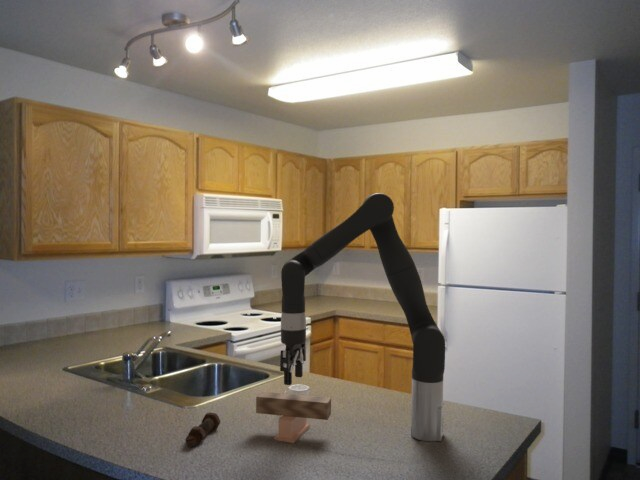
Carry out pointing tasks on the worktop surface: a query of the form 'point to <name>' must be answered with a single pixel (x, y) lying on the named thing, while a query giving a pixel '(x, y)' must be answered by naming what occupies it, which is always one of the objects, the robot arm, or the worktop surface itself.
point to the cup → (298, 389)
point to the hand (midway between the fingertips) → (293, 380)
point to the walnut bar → (293, 405)
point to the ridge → (291, 428)
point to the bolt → (202, 429)
